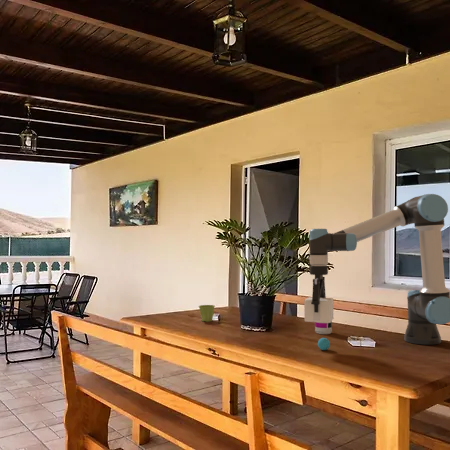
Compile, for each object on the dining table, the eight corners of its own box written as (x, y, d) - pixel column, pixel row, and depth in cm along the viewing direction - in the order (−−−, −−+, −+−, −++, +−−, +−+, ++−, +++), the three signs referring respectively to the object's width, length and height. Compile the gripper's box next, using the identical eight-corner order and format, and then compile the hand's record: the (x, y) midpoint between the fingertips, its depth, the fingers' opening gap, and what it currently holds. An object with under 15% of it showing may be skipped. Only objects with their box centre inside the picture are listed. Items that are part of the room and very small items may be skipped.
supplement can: (319, 335, 226) (319, 303, 227) (312, 331, 234) (311, 301, 235) (335, 334, 228) (334, 303, 229) (327, 330, 236) (326, 301, 237)
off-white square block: (333, 318, 199) (333, 298, 200) (329, 322, 190) (329, 301, 190) (309, 317, 203) (309, 297, 203) (304, 321, 194) (304, 300, 194)
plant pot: (196, 320, 271) (196, 305, 272) (211, 319, 275) (211, 304, 276) (202, 322, 263) (202, 307, 263) (217, 321, 267) (217, 306, 267)
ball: (316, 343, 199) (325, 351, 197) (314, 345, 194) (324, 353, 193) (323, 334, 198) (333, 342, 196) (321, 336, 193) (331, 344, 192)
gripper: (315, 263, 209) (315, 313, 208) (304, 266, 188) (304, 322, 187) (332, 264, 206) (332, 314, 206) (322, 266, 185) (323, 323, 185)
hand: (319, 318), depth 196 cm, fingers closed on off-white square block, 10 cm apart
